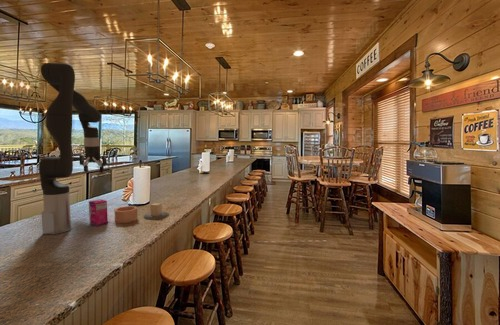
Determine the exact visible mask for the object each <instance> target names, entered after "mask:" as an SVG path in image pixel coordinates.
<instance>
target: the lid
mask: <svg viewBox="0 0 500 325" xmlns="http://www.w3.org/2000/svg"><path fill="white" fill-rule="evenodd" d="M162 205H163V204H162V202H159V203H157V202H154V203H152V204H150V212H148V213H145V214H144V215H143V219H145V220H151V221H152V220H161V218H162V219H164V218H168V217H169V216H170V212H168V211H163V210H162V208H163V207H162ZM168 215H169V216H168ZM167 216H168V217H167Z"/></svg>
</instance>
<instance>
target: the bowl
mask: <svg viewBox="0 0 500 325" xmlns="http://www.w3.org/2000/svg"><path fill="white" fill-rule="evenodd" d="M113 213H114V222H115V223H117V224H127V223H132V222H135V221H137V219H138V207H137V206H135V205H134V206H131V205H126V206H120V207H118V208H115V209H114V212H113Z"/></svg>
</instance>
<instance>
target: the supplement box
mask: <svg viewBox="0 0 500 325" xmlns="http://www.w3.org/2000/svg"><path fill="white" fill-rule="evenodd" d="M107 202H108V201H107V200H106V199H95V200H90V201H88V215H89V225H93V226H95V227H99V226H102V225H106V224H108V223H109V220H108V203H107Z"/></svg>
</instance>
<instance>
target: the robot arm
mask: <svg viewBox="0 0 500 325" xmlns="http://www.w3.org/2000/svg"><path fill="white" fill-rule="evenodd" d="M40 74H41V75H42V78H43V79H44V81H45V82H46V83H47V84H49V85H50V87H52V88H53V89H54V90H55V91H56V92H58V93H57V96H56V97H55V99H54V100H52V102H51V103H50V105H49V106H48V108H47V110H46V113H45V126H46V129H47V131H48V133H49V134H50V135H51V137H52V138H53V139H54V141H55V142H56V144H57V146H58V148H59V149H58V150H59V156H45V157H42V158H41V159H40V161H39V165H38V166H39V167H38V168H39V169H38V171H39V172H38V173H39V177H40V178H39V179H40V187H41V190H42V199H43V201H42V202H43V211H42V212H41V225H42V234H44V235H57V234H61V233H65V232H68V231H71V229H72V220H71V218H72V217H71V196H70V187H69V185H67V184H64V183H61V182H59V181H58V180H57V179H59V178H61V179H63V178H66V179H67V178H70V177H71V175H72V174H73V168H74V162H73V161H74V160H73V147H72V139H73V138H72V137H73V134H72V133H73V109H75V111H76V112H78V114H77V115H78V120H79V122H80V125H81V127H82V130H83V148H84V153H85V154H84V153H83V154H79V156H78V157H79V166H83V172H84V173H88V172H89V163H96V164H97V165H98V166H99V173H100V174H102V173H104V171H105V169H104V167H105V166H107V165H108V161H107V160H108V159H107V155H106V154H104V155H101V146H100V145H101V144H100V138H99V128H98V127H96V126H92V125H91V124H90V123H99V122H100V121H101V119H102V116H101V113H100V111H99V110H97V108H96V107H95V106H94V105H92V104H90V103H89V102H88V100H87V99H86V97H85V96H84V95H83V94H82V93H81V92H79V91H77V90H76V89H75V82H76V73H75V70H74V67H73V66H72V65H71V64H70V63H63V62H45V63H43V64H41V67H40ZM85 159H86V160H85ZM56 178H57V179H56Z"/></svg>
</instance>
